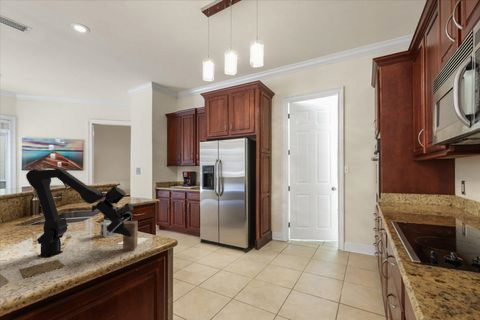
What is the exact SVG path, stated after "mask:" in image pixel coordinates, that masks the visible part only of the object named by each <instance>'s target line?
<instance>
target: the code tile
mask: <svg viewBox="0 0 480 320" xmlns="http://www.w3.org/2000/svg"><path fill="white" fill-rule="evenodd" d="M146 240H149V237H138V240H137V246H138V245H140V244H142V243H144V242H145V241H146ZM117 245H123V240H122V241H119V242H118V243H117Z"/></svg>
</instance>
